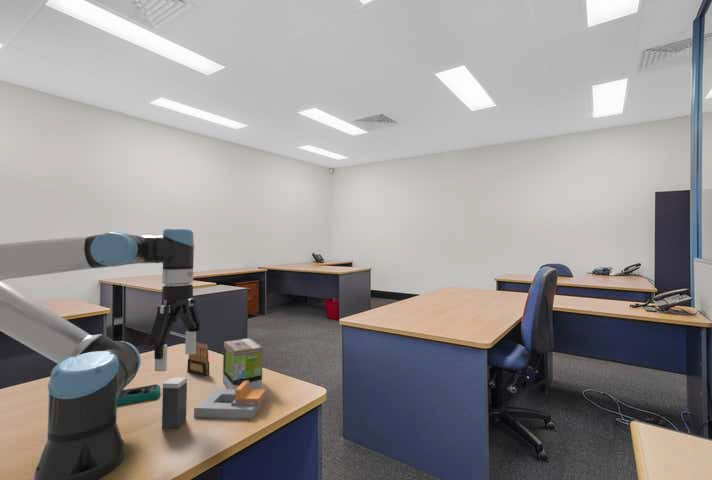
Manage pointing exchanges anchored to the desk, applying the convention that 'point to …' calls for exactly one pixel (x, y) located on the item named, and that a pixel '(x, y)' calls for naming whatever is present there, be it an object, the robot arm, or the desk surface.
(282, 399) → the desk surface
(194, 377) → the desk surface
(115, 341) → the robot arm
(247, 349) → the tea box
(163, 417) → the plug
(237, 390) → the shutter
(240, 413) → the socket plate
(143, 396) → the digital multimeter
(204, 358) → the ammunition clip
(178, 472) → the desk surface
